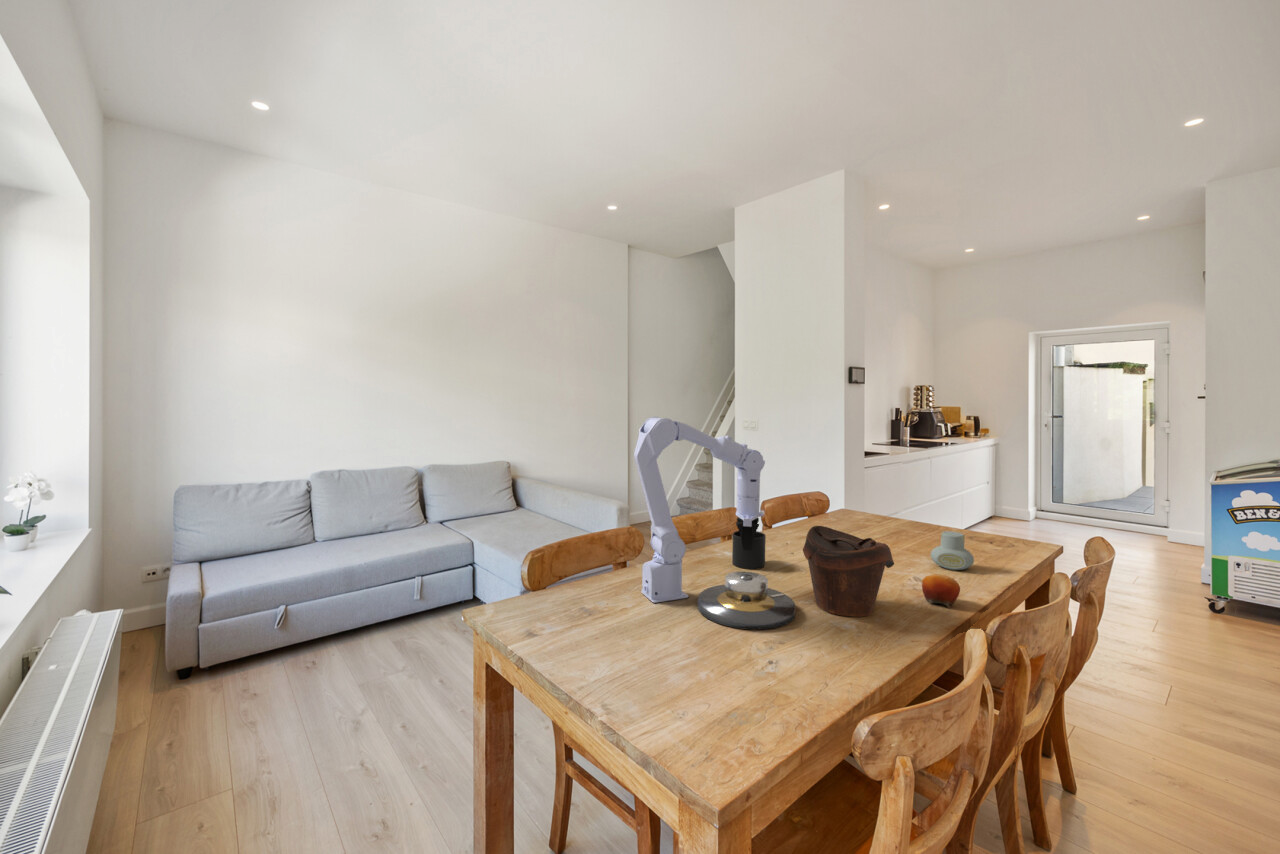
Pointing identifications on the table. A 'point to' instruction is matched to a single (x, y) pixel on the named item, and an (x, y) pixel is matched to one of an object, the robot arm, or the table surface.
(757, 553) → the black cylindrical cup
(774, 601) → the turntable
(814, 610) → the table surface
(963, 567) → the air freshener
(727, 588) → the cover
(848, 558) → the case
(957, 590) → the fruit
